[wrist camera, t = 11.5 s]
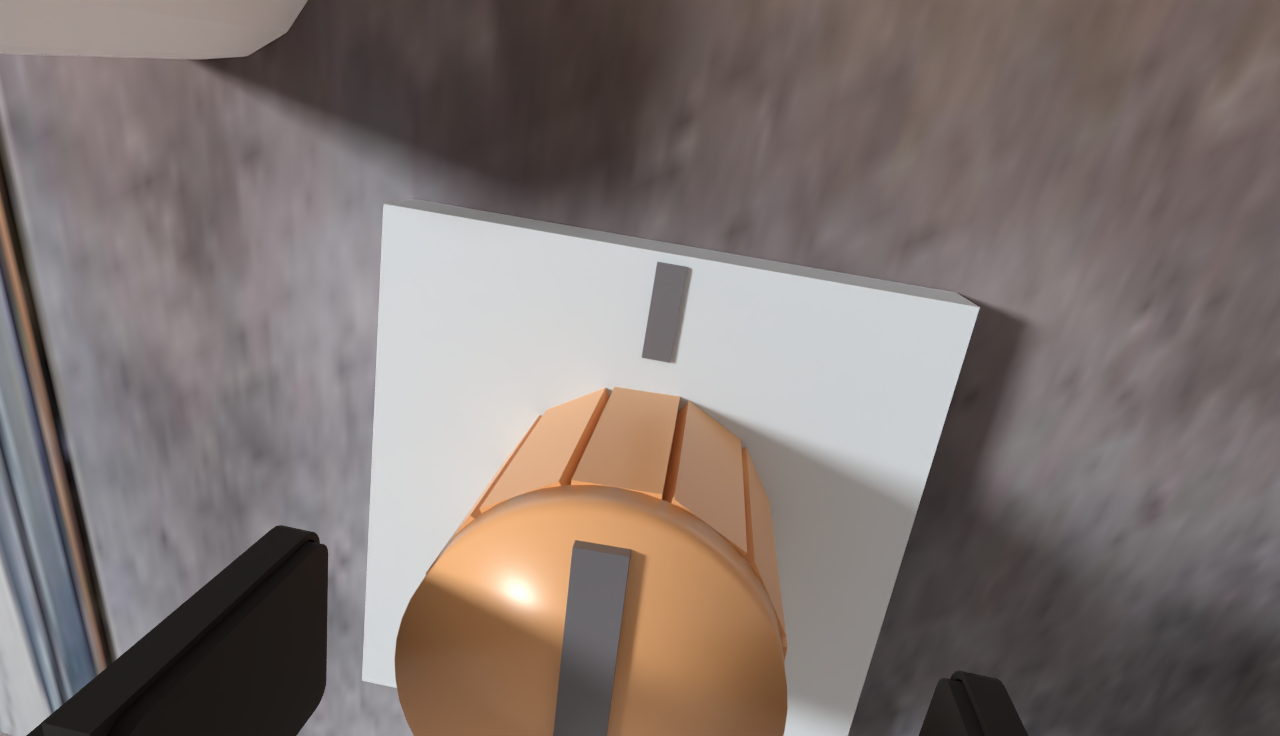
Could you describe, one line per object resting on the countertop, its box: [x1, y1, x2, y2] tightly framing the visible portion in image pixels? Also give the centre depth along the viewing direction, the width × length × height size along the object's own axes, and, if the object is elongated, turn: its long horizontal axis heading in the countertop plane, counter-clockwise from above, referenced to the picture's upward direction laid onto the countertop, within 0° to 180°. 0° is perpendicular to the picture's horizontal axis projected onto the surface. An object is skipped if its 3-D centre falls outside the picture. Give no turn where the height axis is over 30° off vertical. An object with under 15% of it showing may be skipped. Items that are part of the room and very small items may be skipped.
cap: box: [394, 387, 788, 736], centre depth 13 cm, size 6×6×6 cm
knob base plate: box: [362, 199, 980, 736], centre depth 15 cm, size 12×12×6 cm
